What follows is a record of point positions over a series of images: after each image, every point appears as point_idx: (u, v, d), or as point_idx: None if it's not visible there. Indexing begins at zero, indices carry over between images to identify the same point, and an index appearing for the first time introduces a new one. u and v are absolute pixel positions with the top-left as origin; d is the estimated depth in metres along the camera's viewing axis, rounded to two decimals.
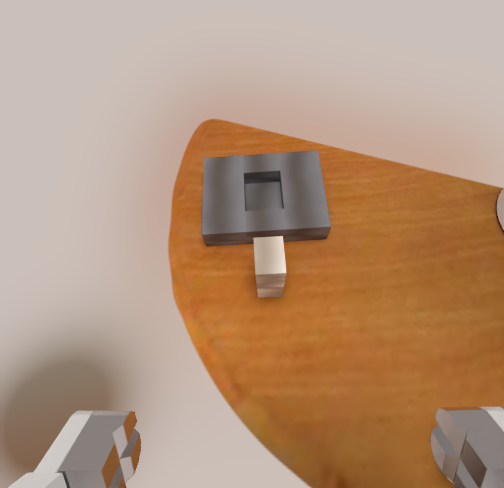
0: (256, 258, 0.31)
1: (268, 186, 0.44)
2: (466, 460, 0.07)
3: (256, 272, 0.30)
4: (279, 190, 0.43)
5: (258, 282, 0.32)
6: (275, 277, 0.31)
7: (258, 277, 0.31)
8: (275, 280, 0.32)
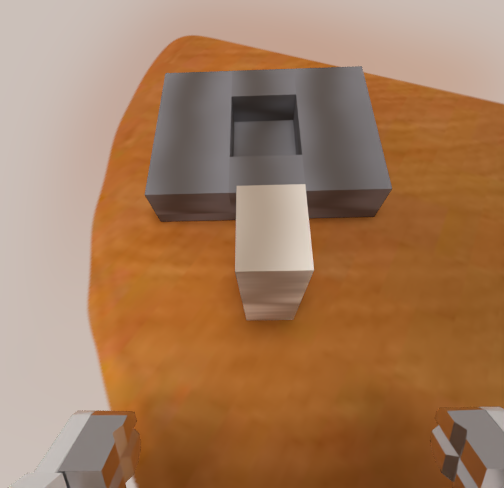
0: (240, 232, 0.12)
1: (273, 126, 0.26)
2: (467, 460, 0.07)
3: (237, 266, 0.12)
4: (292, 133, 0.25)
5: (245, 292, 0.14)
6: (284, 281, 0.13)
7: (242, 278, 0.12)
8: (283, 287, 0.14)
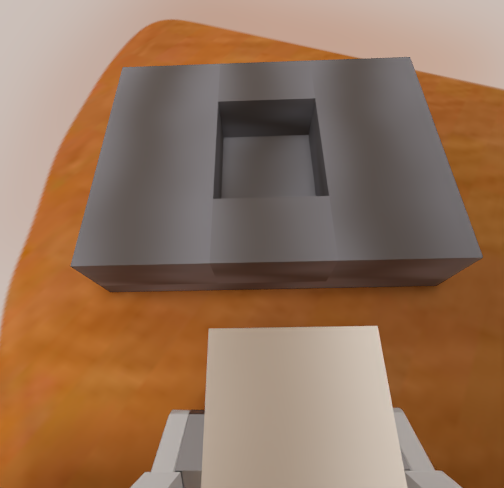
0: None
1: (280, 145, 0.18)
2: None
3: None
4: (308, 155, 0.17)
5: None
6: None
7: None
8: None
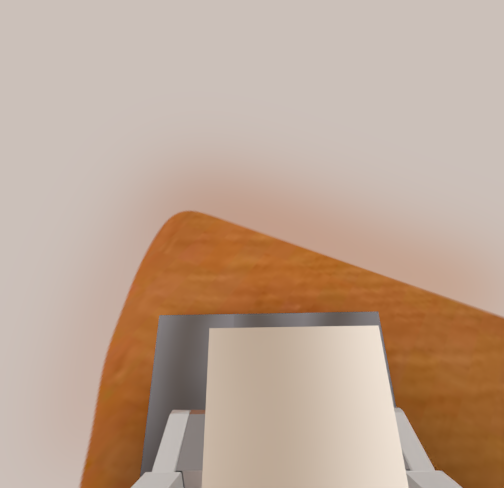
0: None
1: None
2: None
3: None
4: None
5: None
6: None
7: None
8: None
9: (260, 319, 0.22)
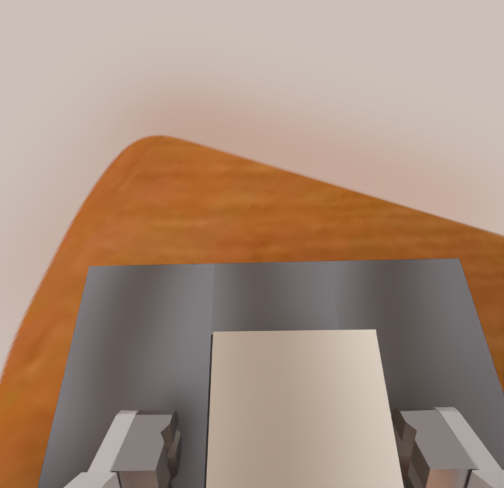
0: (218, 485, 0.05)
1: None
2: (415, 460, 0.07)
3: None
4: None
5: None
6: None
7: None
8: None
9: (259, 271, 0.13)
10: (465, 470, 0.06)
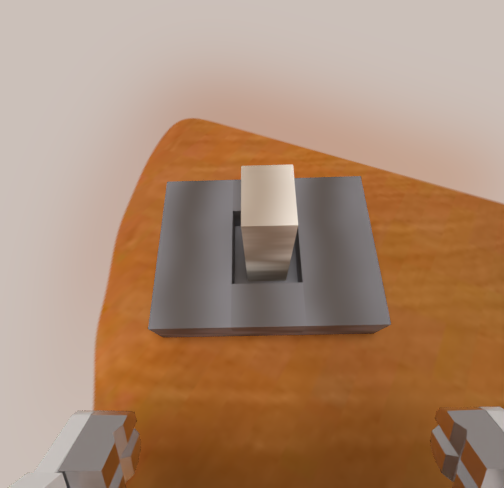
0: (244, 199, 0.17)
1: None
2: (467, 460, 0.07)
3: (242, 222, 0.16)
4: None
5: (247, 247, 0.18)
6: (277, 236, 0.17)
7: (246, 233, 0.17)
8: (277, 242, 0.18)
9: None
10: None
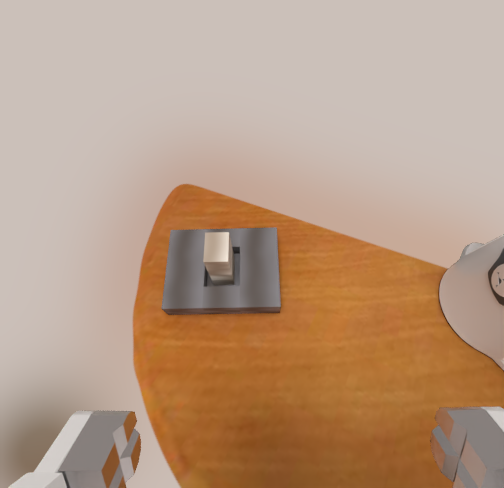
0: (205, 249, 0.38)
1: None
2: (467, 460, 0.07)
3: (204, 260, 0.37)
4: (240, 262, 0.46)
5: (208, 269, 0.39)
6: (220, 265, 0.38)
7: (206, 264, 0.38)
8: (221, 267, 0.39)
9: (219, 231, 0.46)
10: None
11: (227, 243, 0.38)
